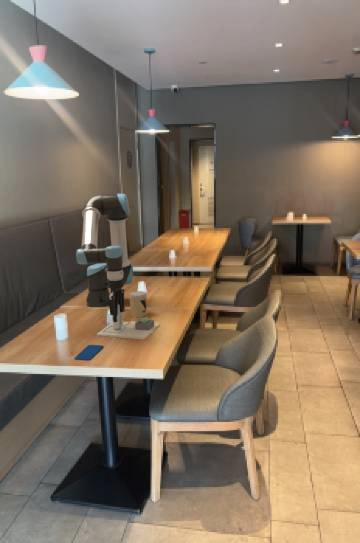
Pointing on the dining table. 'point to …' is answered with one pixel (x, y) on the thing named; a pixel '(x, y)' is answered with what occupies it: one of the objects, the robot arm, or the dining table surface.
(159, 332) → the dining table surface
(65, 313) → the dining table surface
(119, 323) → the marker
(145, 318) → the button
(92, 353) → the smartphone
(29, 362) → the dining table surface
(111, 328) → the board
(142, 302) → the coffee cup
